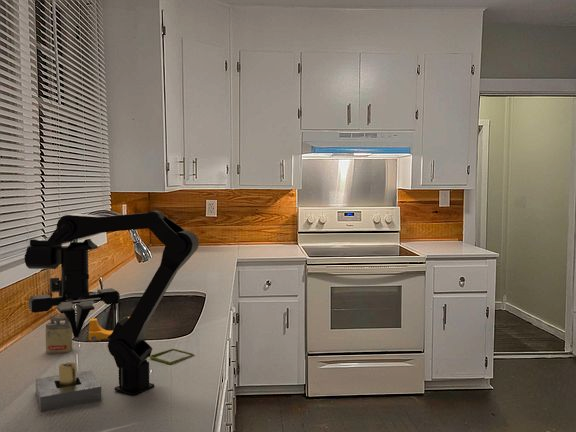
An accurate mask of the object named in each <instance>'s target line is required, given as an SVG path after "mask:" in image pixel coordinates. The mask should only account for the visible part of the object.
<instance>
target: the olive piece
mask: <svg viewBox="0 0 576 432" xmlns="http://www.w3.org/2000/svg"><path fill="white" fill-rule="evenodd" d="M172 351H174V352H178V353H182V354H185V355H188V356H184V357H181V358H179V359H174V360H172V361H168V360H165V359H161V358H158V357H159V356H162V355H165V354H167V353H168V354H169V353H170V352H172ZM193 356H195V354H194V353H192V352H188V351H184V350H181V349H176V348H169V349H167V350H163V351H161V352H157V353H155V354H154V353H153V354H151V355H150V356H149V357H148V358H150V359H151V360H153V361H157V362H160V363H163V364H164V363H165V364H168V365H173V364H176V363H178V362H180V361H183V360H186V359H189V358H191V357H193Z"/></svg>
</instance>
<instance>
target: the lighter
mask: <svg viewBox="0 0 576 432" xmlns="http://www.w3.org/2000/svg"><path fill="white" fill-rule="evenodd" d="M49 320H50V322H48V323H46V324H45V353H46V354H62V353H68V352H71V351H73V333H72V331H71V328H70V325H69V323H68V320H67V318H66V316H50V319H49Z"/></svg>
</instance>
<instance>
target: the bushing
mask: <svg viewBox="0 0 576 432" xmlns="http://www.w3.org/2000/svg"><path fill="white" fill-rule="evenodd" d="M76 373H77V363H76V362H64V363H60V364H59V365H58V375H59V388H63V387H69V386H74V385H76Z"/></svg>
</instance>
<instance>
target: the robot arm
mask: <svg viewBox="0 0 576 432" xmlns="http://www.w3.org/2000/svg"><path fill="white" fill-rule="evenodd" d="M145 229H148V230H149V231H151V232H152V234H154V236H155V237H156V238H157V239H158V241H159V242H160V243H162V244H163V245H164V249H163V252H162V253H161V254H162V255H161V260H160V265H159V266H158V268H157V270H156V272H155V273H154V274H153V277H152V278H151V280H150V282H149V284H148V285H147V287H146V289H145V290H144V292H143V295H142V296H141V297H140V299H139V301H138V303H137V304H136V306H135V308H134V309H133V311H132V313H131V314H130V316H124V317H125V318H124V317H123V318H122V319H120V320H119V321H117V322H115V325H114V328H113V330H112V331H113V332H112V334H111V335H110V336H108V343H107V349H108V352H109V353H110V355H111V356H112V357H113V359H114V362H115V364H116V367H117V368H118V385H117V386H114V388H113V390H114V391H117V392H120V393H125V394H126V395H131V396H136V395H138V394H141V393H143V392H145V391H148V390H149V389H152V388H154V387H155V383H151V382H150V362H149V361H148V358H150V357H149V356H150V355H152V351H153V348H152V346H151V345H150V344H149V343H148V342H147V341H146V340H145V336H146V333H147V329H148V323H149V321H150V320H151V318H152V316H153V314H154V313H155V311H156V310H157V307H158V305H159V303H160V302H161V300H162V299H163V297H164V295H165V293H166V292H167V290H168V289H169V287H170V285H171V284H172V281H173V280H174V278H175V276H176V274H177V273H178V272H179V271H180V269H181V268H182V267H183V266H184V265H185V264H186V263H187V262H188V261H189V260H190V259H191V257H192V256H193V255H194V254H195V252H196V251H197V250H198V248H199V245H200V242H199V238H198V237H197V235H196V234H195V233H194V232H193V231H190V230H185V229H184V228H182V226H180V225H179V224H178V223H176V222H174V221H173V220H171V219H170V218H169V217H167V216H166V215H165V214H164V213H163V212H162V211H160V210H151V211H147V212H140V213H139V212H138V213H129V214H117V215H106V216H104V215H102V216H101V215H95V214H86V213H73V214H66V215H65V214H64V215H62V216H60V218H59V219H58V221H57V224H56V228H55V229H54V231H53V232H52V233H51V235H50V237H49V238H48V239H41V238H32V239H30V240H29V245H28V246H27V248H26V251H25V254H24V263H25V265H26V268H27V269H31V270H35V269H37V270H56V269H57V268H59V266H60V265H61V267H60V268H61V270H60V271H61V277H50V278H49V292H50V293H51V294H52V293H58V297H51V296H50V295H49V294H47V293H46V294H37V295H36V294H35V295H31V296H30V297H29V298H28V309H29V311H30V312H31V313H42V312H43V313H44V312H49V311H50V310H51V308H52V307H56V310H57V311H58V312H59V313H60V314H64V317H66V318H67V320H68V323H69V325H70V328H71V331H72V337H73V338H76V339H77V338H79V336H80V334H81V331H82V329H83V326H84V324H85V321H86V319H87V317H88V315H89V314H90V312H91V311H94V310H95V309H96V308H95V306H94V305H93V304H94V303H95V302H103V303H104V304H105V305H106V306H107V305H116V304H119V303H121V295H120V293H119V292H118V290H116V289H114V288H110V287H109V288H101V289H97V291H96V293H90V291H89V289H90V286H89V285H90V284H89V279H90V274H89V251H92V250H96V249H98V247H99V246H98V245H97V244H96V243H95V242H93V241H92V240H91V238H90V237H92V236H95V235H99V234H102V233H113V232H124V231H136V230H145ZM87 237H89V238H87ZM84 238H87V239H85V240H84V241H82V242H81V241H80V242H79V241H75V240H80V239H84ZM63 244H68V245H65V246H64V245H63ZM73 305H75V306H76V307H75V308H76V310H75V308H73ZM128 317H130V318H128Z"/></svg>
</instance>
